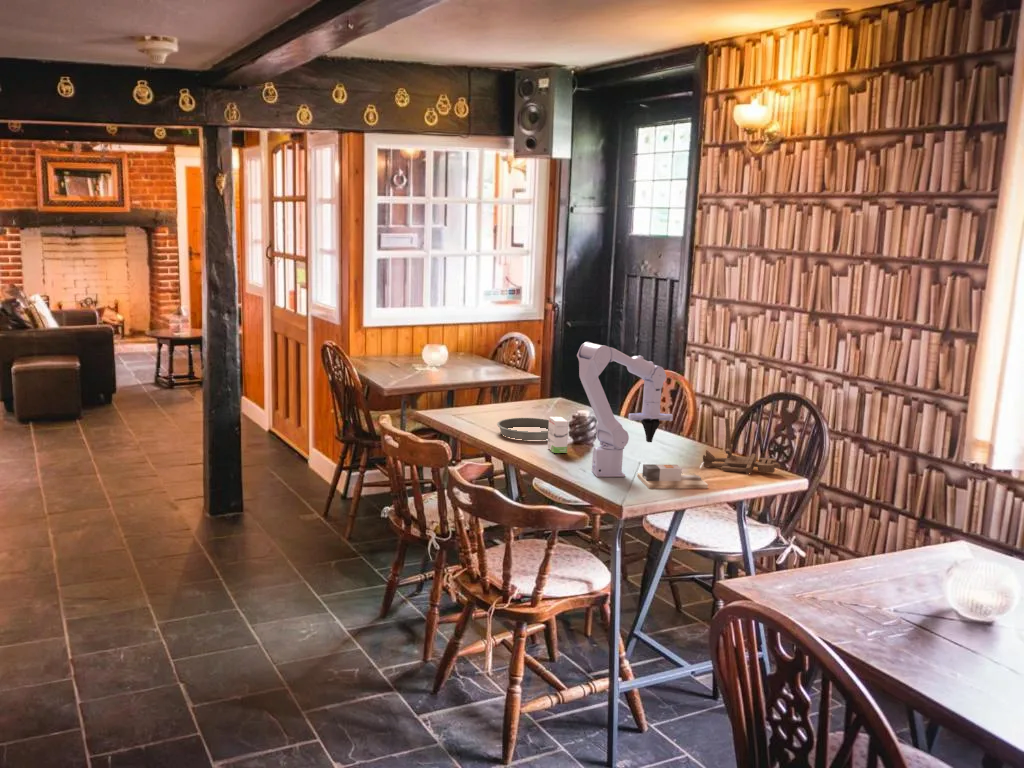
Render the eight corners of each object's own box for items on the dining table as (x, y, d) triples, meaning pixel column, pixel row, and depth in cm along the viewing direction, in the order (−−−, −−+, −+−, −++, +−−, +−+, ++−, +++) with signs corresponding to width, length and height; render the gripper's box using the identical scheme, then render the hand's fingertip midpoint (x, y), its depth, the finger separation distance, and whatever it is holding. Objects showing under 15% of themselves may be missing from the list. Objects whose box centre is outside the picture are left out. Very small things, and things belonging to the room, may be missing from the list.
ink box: (567, 454, 331) (569, 421, 329) (553, 454, 330) (555, 421, 328) (559, 448, 339) (561, 416, 337) (546, 448, 338) (548, 416, 336)
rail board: (648, 488, 292) (649, 471, 291) (637, 476, 305) (638, 461, 304) (707, 488, 295) (709, 472, 294) (694, 477, 307) (695, 461, 306)
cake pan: (483, 432, 360) (484, 421, 359) (534, 426, 375) (534, 415, 374) (523, 446, 341) (524, 434, 340) (575, 439, 356) (575, 427, 355)
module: (659, 481, 296) (660, 468, 295) (654, 476, 301) (655, 463, 300) (680, 481, 297) (681, 468, 296) (676, 476, 302) (677, 464, 301)
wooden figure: (706, 414, 324) (781, 416, 313) (710, 460, 330) (783, 464, 320) (695, 432, 312) (773, 435, 301) (700, 479, 318) (776, 484, 308)
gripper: (633, 403, 306) (630, 444, 308) (676, 403, 308) (674, 444, 310) (627, 399, 313) (625, 439, 315) (670, 399, 315) (667, 439, 317)
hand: (649, 441), depth 313 cm, fingers closed
